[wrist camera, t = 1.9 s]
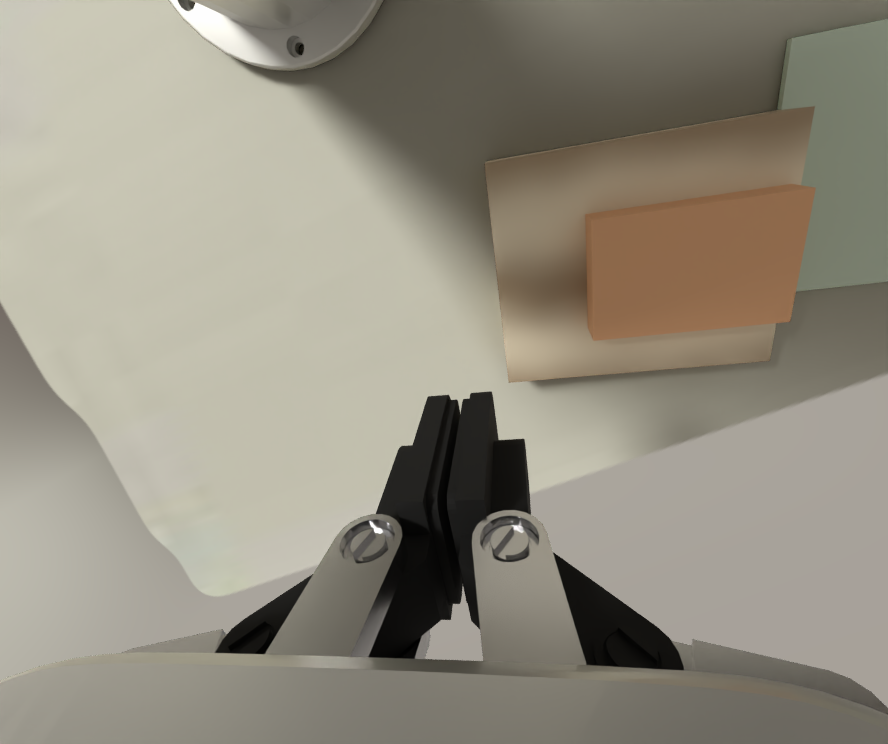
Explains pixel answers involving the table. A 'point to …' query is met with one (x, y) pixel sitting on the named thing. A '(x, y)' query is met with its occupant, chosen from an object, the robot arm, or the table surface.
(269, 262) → the table surface
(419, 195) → the table surface
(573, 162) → the plate
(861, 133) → the mat
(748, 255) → the tile
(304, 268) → the table surface
